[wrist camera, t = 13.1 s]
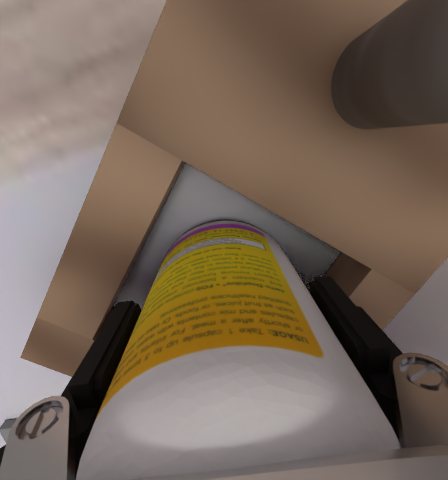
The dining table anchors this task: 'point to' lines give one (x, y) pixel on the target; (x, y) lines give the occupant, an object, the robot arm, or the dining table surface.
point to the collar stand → (273, 148)
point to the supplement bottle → (230, 369)
